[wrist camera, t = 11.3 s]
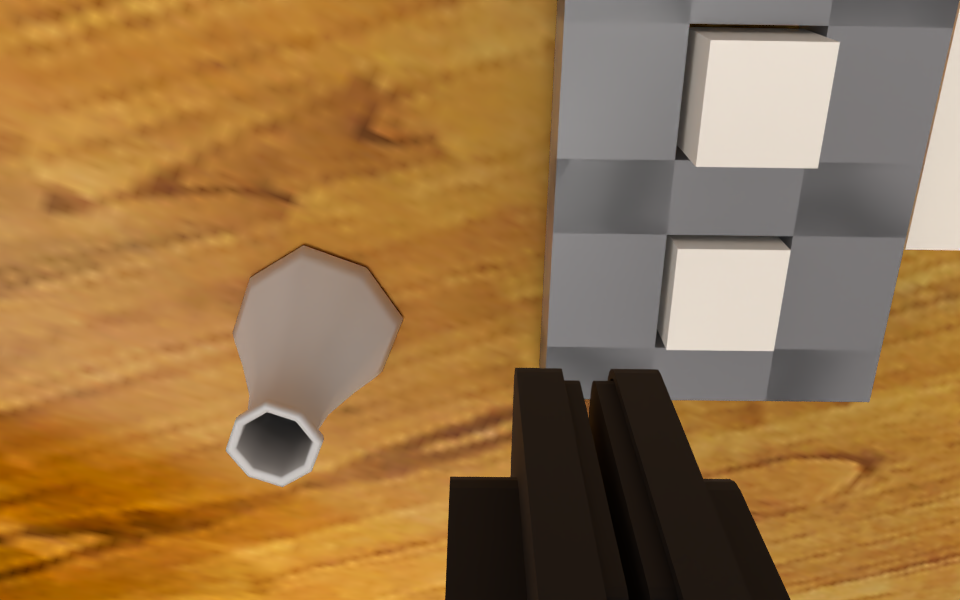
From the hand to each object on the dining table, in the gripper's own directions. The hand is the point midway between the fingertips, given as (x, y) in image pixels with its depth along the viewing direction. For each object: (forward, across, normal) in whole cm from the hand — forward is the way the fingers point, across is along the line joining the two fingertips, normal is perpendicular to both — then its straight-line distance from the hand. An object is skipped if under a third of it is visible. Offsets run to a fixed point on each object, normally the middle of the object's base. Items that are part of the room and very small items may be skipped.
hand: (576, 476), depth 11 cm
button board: (+27, -9, 0) cm, 29 cm away
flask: (+27, +8, +11) cm, 31 cm away
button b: (+26, -9, 0) cm, 27 cm away
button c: (+27, -9, +8) cm, 29 cm away
